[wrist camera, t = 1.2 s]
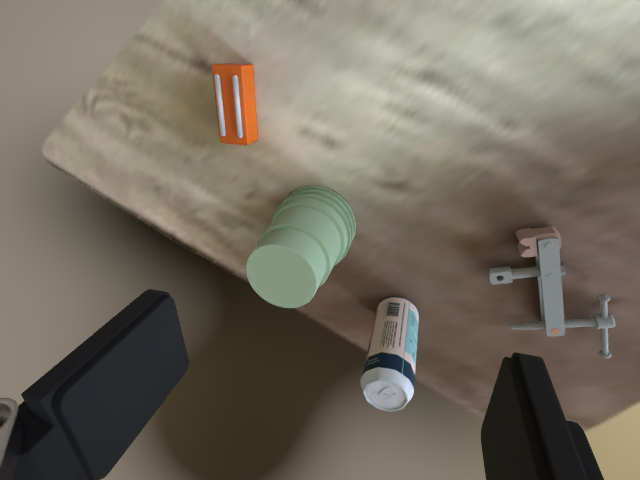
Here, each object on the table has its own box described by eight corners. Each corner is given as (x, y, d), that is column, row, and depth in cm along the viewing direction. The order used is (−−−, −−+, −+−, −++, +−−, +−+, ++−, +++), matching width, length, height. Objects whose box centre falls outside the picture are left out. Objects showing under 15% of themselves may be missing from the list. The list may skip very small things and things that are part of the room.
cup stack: (279, 181, 38) (229, 224, 29) (358, 190, 36) (331, 240, 27) (282, 250, 42) (238, 307, 33) (353, 262, 40) (328, 326, 31)
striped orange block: (224, 63, 34) (208, 64, 31) (253, 64, 33) (238, 65, 31) (232, 137, 37) (217, 144, 35) (258, 140, 37) (245, 146, 34)
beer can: (369, 311, 43) (348, 393, 33) (393, 287, 40) (379, 368, 30) (401, 333, 43) (390, 421, 33) (427, 311, 40) (424, 399, 30)
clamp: (484, 245, 33) (618, 226, 29) (481, 234, 35) (607, 215, 31) (503, 365, 38) (617, 363, 34) (500, 351, 40) (608, 347, 36)
